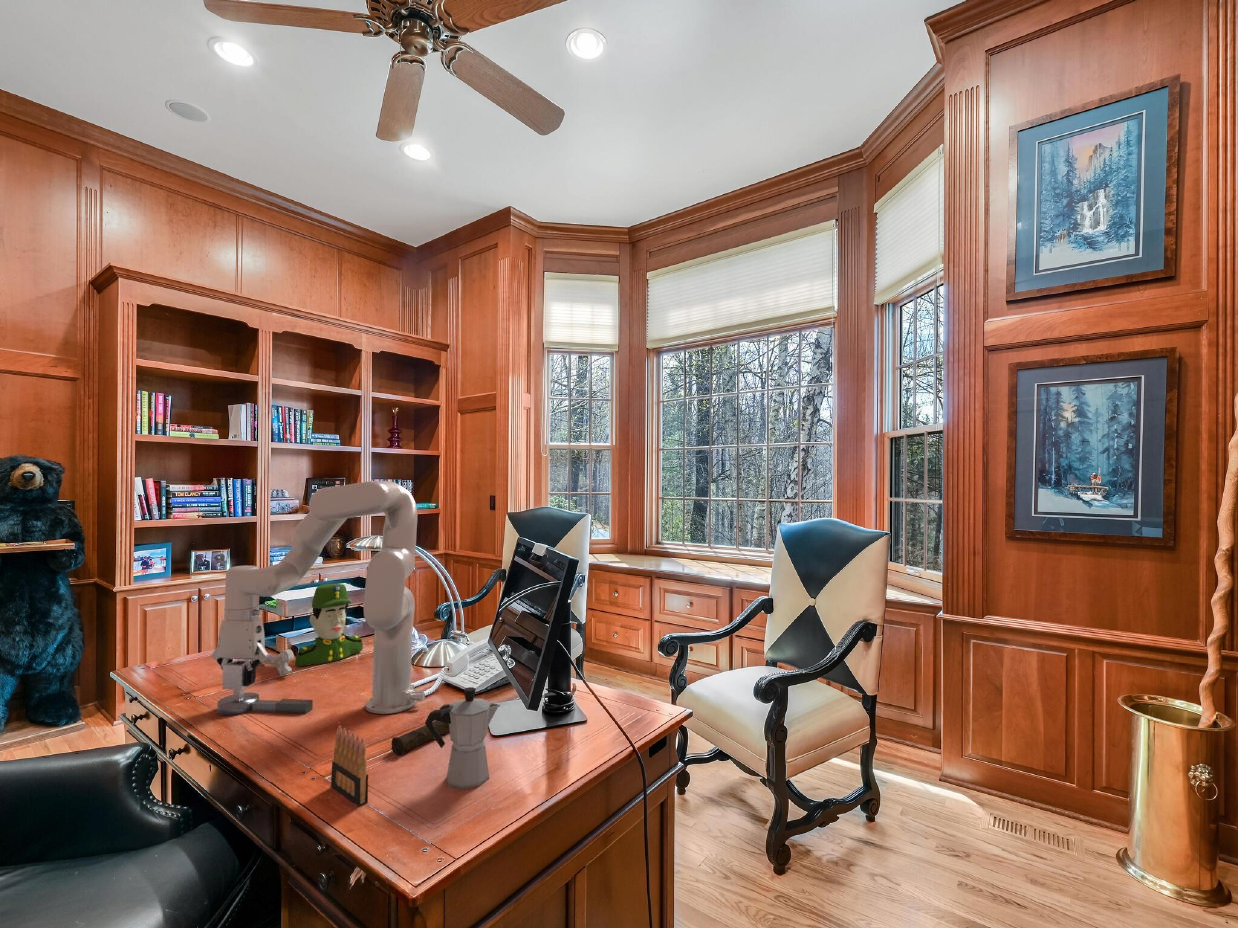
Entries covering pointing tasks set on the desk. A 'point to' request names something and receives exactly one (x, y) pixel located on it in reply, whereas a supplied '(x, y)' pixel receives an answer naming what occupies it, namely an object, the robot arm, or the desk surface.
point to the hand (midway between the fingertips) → (239, 683)
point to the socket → (234, 675)
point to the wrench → (280, 661)
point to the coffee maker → (465, 738)
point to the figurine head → (329, 628)
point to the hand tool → (417, 737)
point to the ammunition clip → (350, 767)
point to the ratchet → (260, 704)
